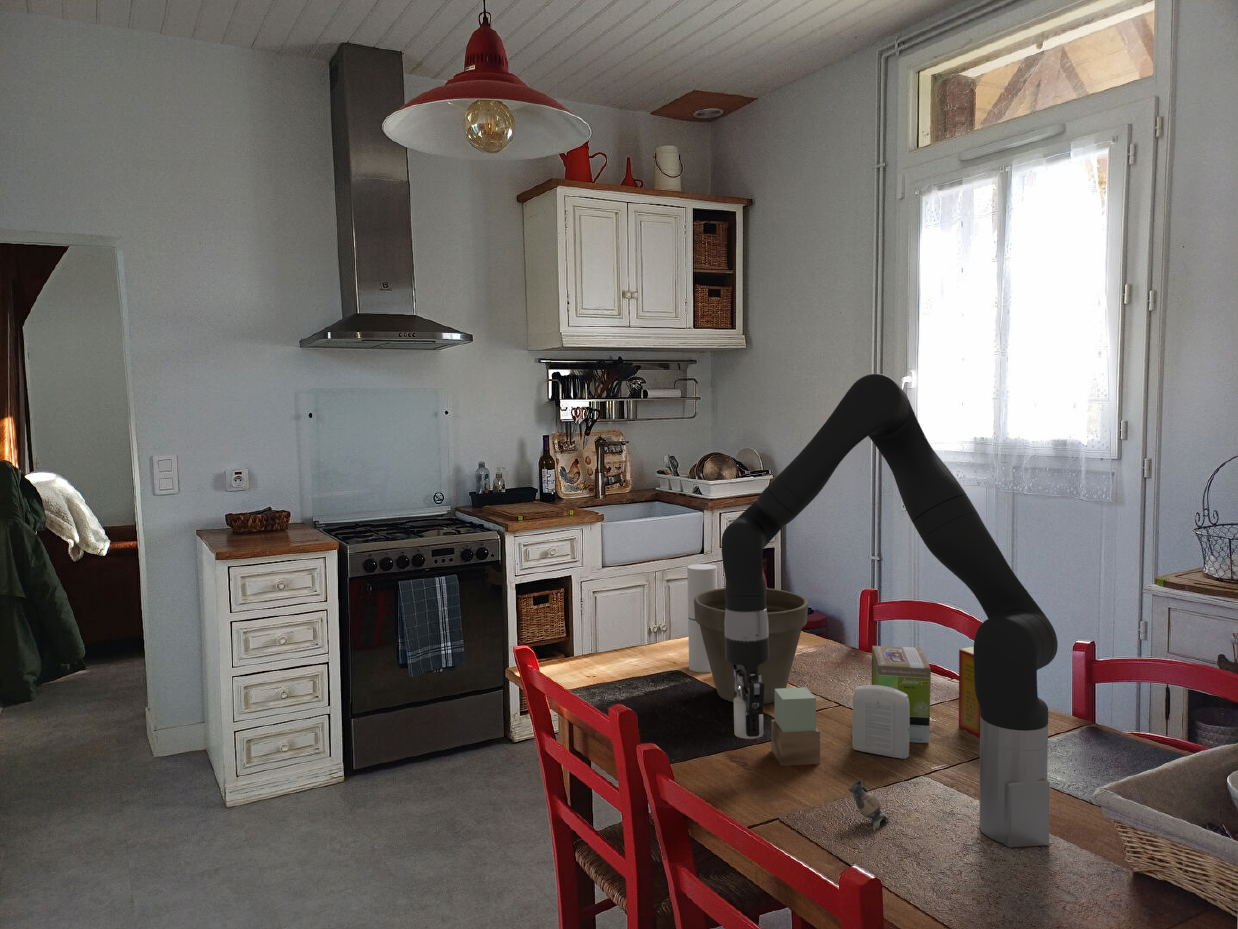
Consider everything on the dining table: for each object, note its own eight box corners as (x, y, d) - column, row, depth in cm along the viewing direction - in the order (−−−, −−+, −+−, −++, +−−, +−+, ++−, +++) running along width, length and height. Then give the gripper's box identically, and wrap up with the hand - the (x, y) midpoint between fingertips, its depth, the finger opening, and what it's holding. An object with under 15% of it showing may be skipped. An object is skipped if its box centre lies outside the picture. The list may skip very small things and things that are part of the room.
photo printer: (911, 753, 165) (912, 687, 164) (906, 761, 161) (906, 694, 160) (855, 743, 170) (855, 679, 169) (849, 751, 166) (849, 686, 165)
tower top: (816, 730, 161) (815, 698, 160) (783, 732, 160) (782, 699, 160) (806, 719, 166) (806, 687, 166) (774, 720, 166) (774, 688, 166)
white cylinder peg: (766, 737, 154) (765, 703, 153) (738, 739, 153) (737, 705, 153) (759, 727, 159) (758, 694, 158) (731, 729, 158) (730, 696, 158)
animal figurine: (840, 823, 138) (841, 784, 138) (857, 813, 142) (858, 775, 142) (873, 833, 135) (874, 793, 135) (889, 822, 139) (890, 784, 139)
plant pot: (831, 704, 192) (831, 603, 190) (729, 721, 183) (728, 616, 181) (770, 672, 215) (769, 582, 213) (676, 686, 206) (675, 592, 204)
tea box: (931, 744, 168) (931, 667, 167) (876, 741, 170) (876, 665, 169) (921, 716, 183) (921, 645, 182) (870, 714, 185) (870, 643, 184)
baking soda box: (998, 721, 180) (999, 642, 178) (1022, 732, 173) (1023, 651, 172) (958, 727, 177) (959, 647, 176) (981, 738, 171) (981, 656, 170)
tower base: (819, 764, 161) (819, 731, 160) (781, 766, 160) (781, 733, 160) (808, 749, 168) (808, 717, 167) (771, 751, 167) (771, 719, 167)
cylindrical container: (684, 665, 221) (682, 565, 220) (711, 662, 223) (709, 563, 222) (695, 673, 215) (694, 570, 213) (723, 670, 217) (721, 568, 215)
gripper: (779, 643, 148) (781, 744, 149) (757, 623, 163) (759, 715, 164) (734, 645, 148) (736, 746, 149) (716, 625, 162) (719, 717, 163)
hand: (748, 729), depth 156 cm, fingers closed on white cylinder peg, 5 cm apart
